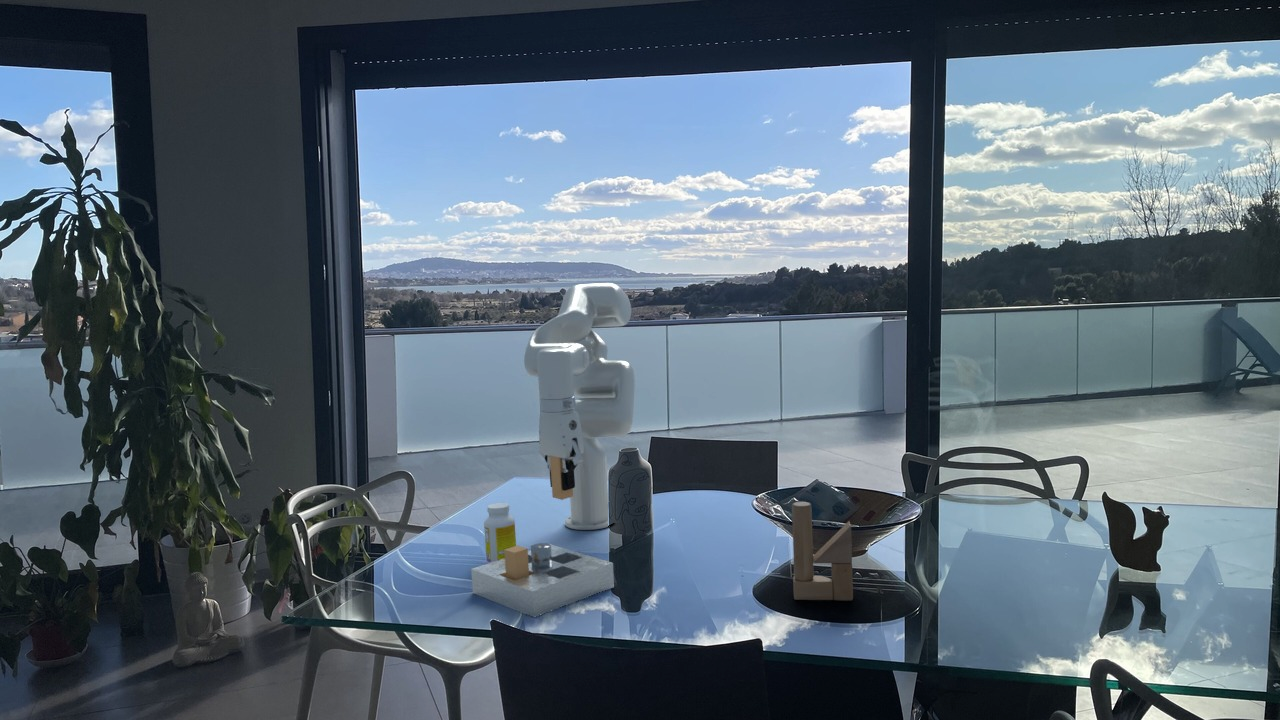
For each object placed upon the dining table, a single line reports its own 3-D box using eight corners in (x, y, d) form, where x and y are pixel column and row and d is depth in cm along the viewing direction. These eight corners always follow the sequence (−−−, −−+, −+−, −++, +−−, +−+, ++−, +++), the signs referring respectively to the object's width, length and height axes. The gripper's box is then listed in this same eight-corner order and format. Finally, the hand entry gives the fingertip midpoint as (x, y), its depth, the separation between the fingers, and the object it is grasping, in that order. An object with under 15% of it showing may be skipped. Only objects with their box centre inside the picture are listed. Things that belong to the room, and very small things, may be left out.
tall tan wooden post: (520, 594, 177) (517, 545, 176) (530, 598, 174) (527, 548, 173) (507, 599, 174) (504, 549, 173) (517, 603, 172) (514, 552, 171)
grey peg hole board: (551, 566, 193) (548, 525, 192) (614, 587, 178) (611, 543, 177) (472, 593, 179) (469, 549, 178) (534, 617, 164) (531, 570, 164)
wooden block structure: (853, 601, 165) (850, 506, 163) (794, 600, 167) (791, 506, 165) (851, 594, 169) (849, 500, 167) (793, 593, 170) (790, 501, 169)
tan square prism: (564, 493, 198) (561, 449, 197) (573, 496, 196) (570, 451, 195) (552, 497, 196) (549, 452, 195) (561, 499, 194) (558, 454, 193)
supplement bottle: (523, 559, 199) (519, 502, 197) (506, 568, 193) (502, 510, 191) (497, 556, 201) (494, 500, 200) (480, 565, 195) (476, 508, 194)
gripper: (595, 405, 190) (600, 489, 193) (547, 398, 202) (552, 478, 204) (568, 411, 185) (574, 498, 187) (520, 404, 197) (526, 485, 199)
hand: (562, 486), depth 196 cm, fingers closed on tan square prism, 3 cm apart
